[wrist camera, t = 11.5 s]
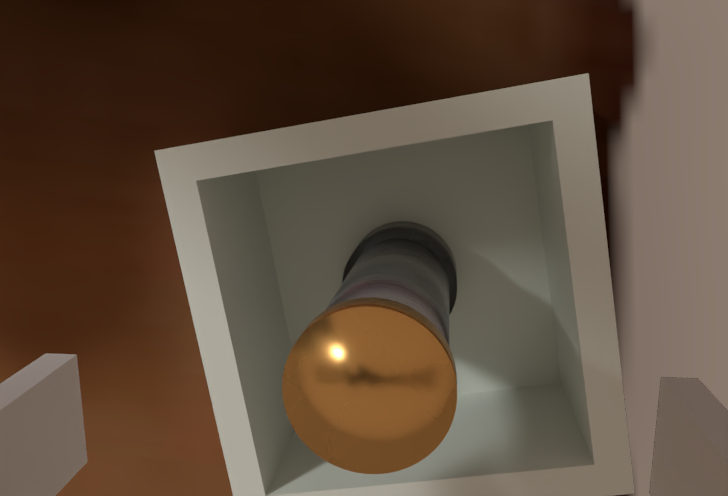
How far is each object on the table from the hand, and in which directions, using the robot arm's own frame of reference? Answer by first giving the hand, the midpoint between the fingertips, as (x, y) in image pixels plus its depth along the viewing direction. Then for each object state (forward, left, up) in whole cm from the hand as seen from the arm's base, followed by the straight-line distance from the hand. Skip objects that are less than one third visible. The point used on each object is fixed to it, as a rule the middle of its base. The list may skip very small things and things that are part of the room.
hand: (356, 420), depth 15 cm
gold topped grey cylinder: (0, 0, -15) cm, 15 cm away
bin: (0, 0, -16) cm, 16 cm away
